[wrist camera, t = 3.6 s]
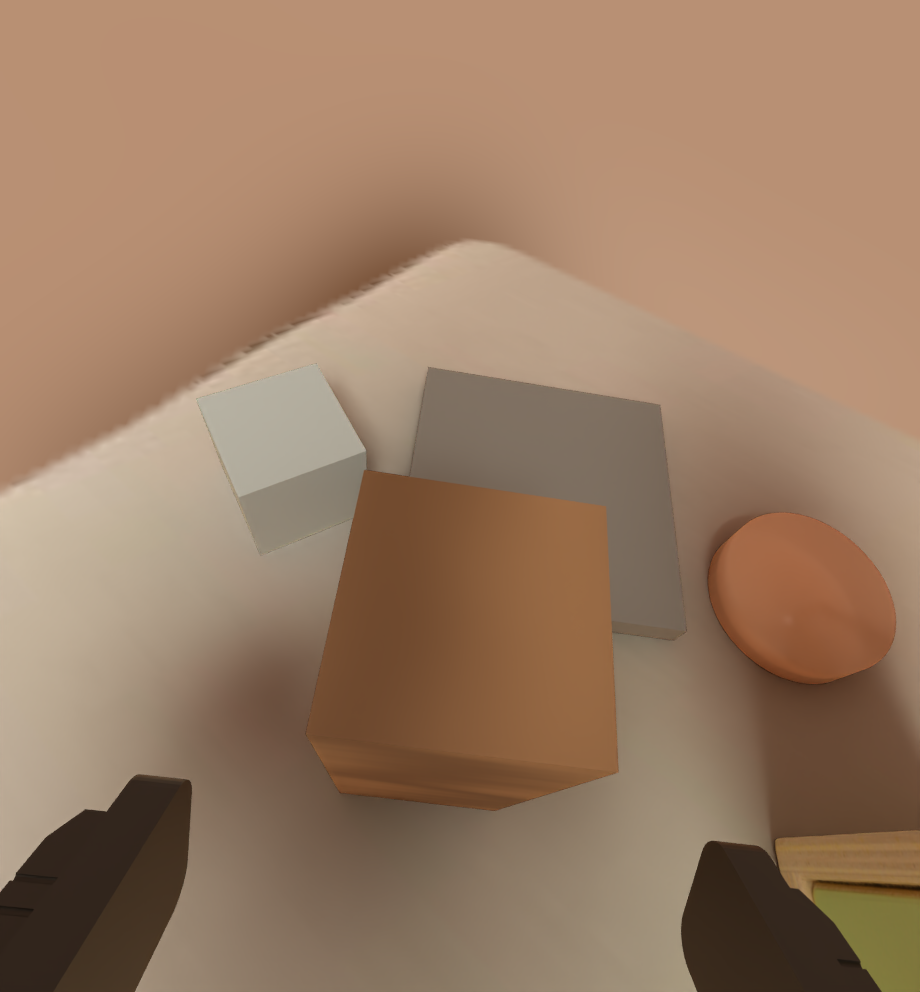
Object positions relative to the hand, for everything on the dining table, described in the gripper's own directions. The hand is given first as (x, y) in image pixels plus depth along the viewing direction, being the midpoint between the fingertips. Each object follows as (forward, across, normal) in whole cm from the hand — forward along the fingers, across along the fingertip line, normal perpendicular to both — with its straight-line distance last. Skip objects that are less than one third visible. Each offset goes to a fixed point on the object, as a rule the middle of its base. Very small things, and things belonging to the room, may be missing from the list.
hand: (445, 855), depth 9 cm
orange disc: (+12, -13, -1) cm, 18 cm away
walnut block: (+8, 0, +3) cm, 9 cm away
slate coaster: (+14, -3, -3) cm, 15 cm away
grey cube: (+14, +6, -2) cm, 15 cm away
